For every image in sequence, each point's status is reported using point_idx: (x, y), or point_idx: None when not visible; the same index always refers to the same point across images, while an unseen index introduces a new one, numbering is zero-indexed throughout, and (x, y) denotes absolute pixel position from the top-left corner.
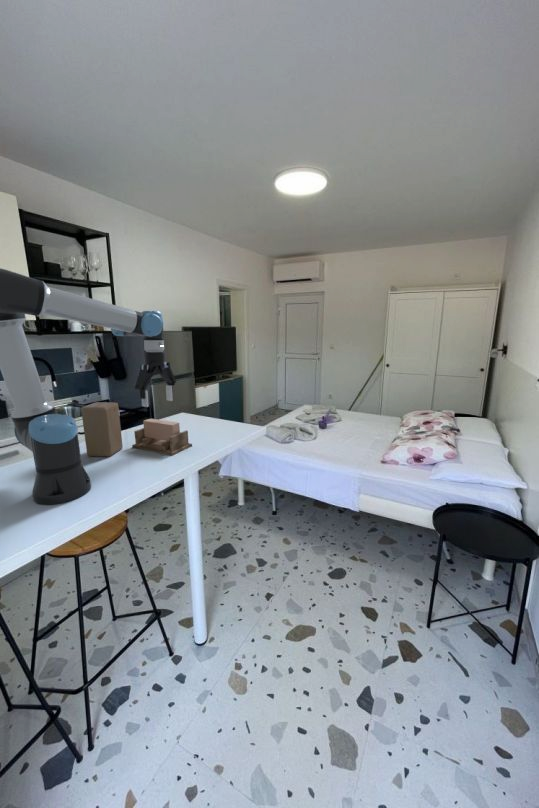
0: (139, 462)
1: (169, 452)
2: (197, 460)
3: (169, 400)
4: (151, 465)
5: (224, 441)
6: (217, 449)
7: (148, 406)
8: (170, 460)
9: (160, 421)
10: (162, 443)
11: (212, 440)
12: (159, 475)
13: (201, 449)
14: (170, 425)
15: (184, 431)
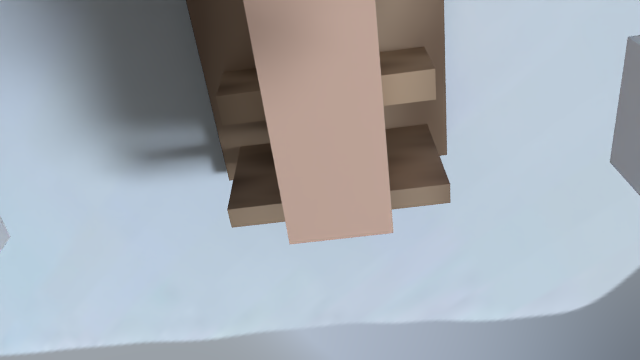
0: (4, 89)
1: (224, 156)
2: (269, 324)
3: (619, 116)
4: (44, 190)
5: (621, 252)
6: (465, 304)
7: (6, 238)
8: (170, 219)
9: (320, 19)
10: (218, 103)
11: (614, 178)
12: (16, 313)
13: (419, 236)
14: (286, 218)
15: (416, 197)
